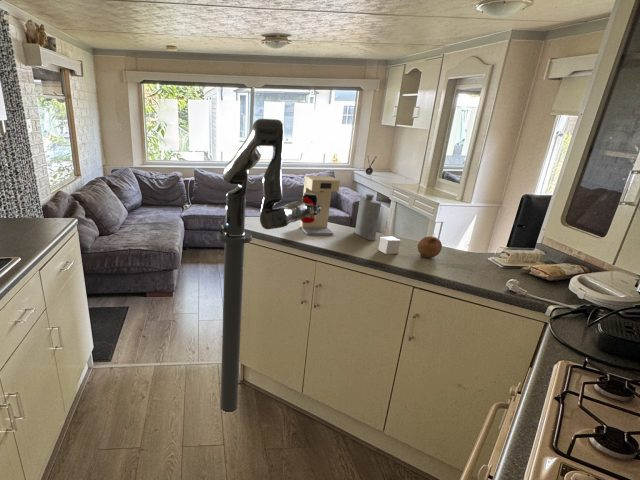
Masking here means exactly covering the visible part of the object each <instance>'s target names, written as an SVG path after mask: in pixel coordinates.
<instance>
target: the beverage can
mask: <svg viewBox="0 0 640 480" xmlns="http://www.w3.org/2000/svg"><path fill="white" fill-rule="evenodd" d="M316 195H317V194H316V193H304V196H303V195H302V198H301V202H303V203H304V204H305V205H313V206H315V205H317V196H316ZM313 210H314V208H313ZM315 216H316V215H314V214H313V213H312V214H307V215H306V216H305V217H304V218H303V219H301V220H300V222H301V221H302V222H304V223H313V222H314V221H315Z"/></svg>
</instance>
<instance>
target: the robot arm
mask: <svg viewBox="0 0 640 480" xmlns="http://www.w3.org/2000/svg"><path fill="white" fill-rule="evenodd" d="M284 129H285V128H284V123H283V122H282V120H280V119H273V118H257V119H256V120H255V121H254V122H253V124H252V126H251V128H250V129H249V132H248V135H247V136H246V138H245V140H244V141H243V143H242V144H241V146H240V147H239V148H238V150H237V151H236V153H235V155H233V157H232V159H230V161H228V162H227V164H225V166H224V168H223V172H222V178H223V182H224V183H225V184H227V185H235V186H236V185H237V186H236V187H235V188H233V189H232V190H229V191H227V193H226V195H225V214H224V224H221V228H220V229H219V232H220V233H221V234H223V232H225V235H226V236H229V237H242V236H244V234H245V233H244V231H245V228H246V227H245V225H246V203H247V202H246V201H247V191H248V181H249V180H248V179H249V170H251V169H253V168H255V166H256V165H257V164H258V163H259V161H260V160H261V158H262V149H261V147H272V157H271V160H270V162H269V163H268V165H267V167H266V169H265V171H264V174H263V177H262V202H261V203H262V204H261V208H260V214H259V224H260V225H261V227H262V228H263V229H265V230H274V229H280V228H284V227H287V226H288V225H290V224H292V223H295V222H298V221H301V219H303V218H304V217H305V216H306V215H307V214H312V213H313V214H314V215H317V214H319V213H320V209H321V207H320V205H315V206H313V205H305V204H304V203H303V202H302V200H296V201H292V202H290V203H286V204H285V205H282V206H280V207H277V208H274V207H275V205H276V204H278V203H281V201H283V182H282V170H283V169H282V168H283V167H282V166H283V157H284V139H285V130H284ZM313 208H314V210H313ZM222 231H223V232H222Z"/></svg>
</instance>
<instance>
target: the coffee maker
mask: <svg viewBox="0 0 640 480" xmlns="http://www.w3.org/2000/svg"><path fill="white" fill-rule="evenodd" d="M340 184H341V180H340V179H338V178H335V177H334V176H331V175H304V182H303V192H302V193H303V194H302V197H303V196H304V193H316V194H317V195H316V196H317V205H320V207H321V209H320V213H319V214H317V215H316V216H315V221H314V222H313V223H304V222H302V221H301V220H300V225H299V228H300V229H301V231H303V232H304V234H305V235H306V236H334V232H333V231H332V230H331V229H330V228H328V224H329V216H330V207H331V199H332V192H339V190H340Z"/></svg>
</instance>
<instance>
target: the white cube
mask: <svg viewBox="0 0 640 480" xmlns="http://www.w3.org/2000/svg"><path fill="white" fill-rule="evenodd" d="M400 244H401V239H400V238H397V237H395V236H391V235H390V236H388V235H387V236H380V238H379V244H378V249H377V251H379V252H380V253H383V254H385V255H395V254H399V250H400Z"/></svg>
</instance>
